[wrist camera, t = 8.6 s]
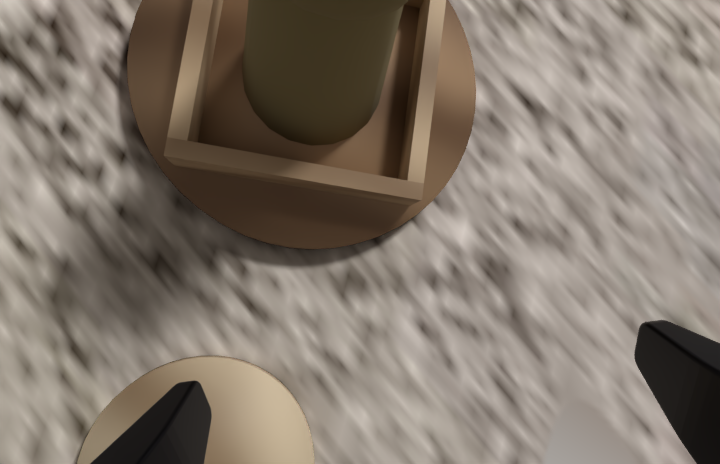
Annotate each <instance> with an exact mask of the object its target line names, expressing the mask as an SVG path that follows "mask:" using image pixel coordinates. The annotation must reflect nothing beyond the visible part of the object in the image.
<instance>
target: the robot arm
mask: <svg viewBox="0 0 720 464" xmlns="http://www.w3.org/2000/svg"><path fill="white" fill-rule="evenodd" d="M635 361H636V364H637V366H638V368H639V370H640V372H641V373H642V375H643V377H644V379H645V380H646V382H647V384H648V386H649V387H650V389H651V391H652V393H653V394H654V396H655V398H656V399H657V401H658V403H659V405H660V406H661V408H662V410H663V412H664V413H665V415H666V417H667V419H668V420H669V422H670V424H671V426H672V427H673V429H674V430H675V432H676V434H677V435H678V437H679V439H680V440H681V441H682V443H683V444H684V446H685V447H686V449H687V450H688V452H689V453H690V455H691V456H692V457H693V459H694V460H695V462H696V463H697V464H720V343H718V342H715V341H713V340H711V339H708V338H706V337H704V336H701V335H699V334H697V333H694V332H692V331H690V330H687V329H685V328H683V327H680V326H678V325H676V324H673V323H671V322H668V321H665V320H658V321H650V322H644V323H642V324H641V326H640V328H639V332H638V337H637V343H636V348H635ZM211 419H212V413H211V407H210V405H209V402H208V400H207V398H206V395H205V393H204V390H203V388H202V386H201V384H200V383H199V382H198V381H195V380H193V381H186V382H180V383H177V384H176V385H174V386H173V387H172V388H171V389H170V390H169V391H168V392H167V393H166V394H165V395H164V396H163V397H161V398H160V399H159V400H158V401H157V402H156V403H155V404H154V405H153V406H152V407H151V408H150V409H148V410H147V411H146V412H145V413H144V414H143V415H142V416H141V417H140V418H139V419H138V420H137V421H136V422H134V423H133V424H132V425H131V426H130V427H129V428H128V429H127V430H126V431H125V432H124V433H123V434H121V435H120V436H119V437H118V438H117V439H116V440H115V441H114V442H113V443H112V444H111V445H110V446H109V447H107V448H106V449H105V450H104V451H103V452H102V453H101V454H100V455H99V456H98V457H97V458H96V459H94V460H93V461H92V462H91V463H90V464H204V461H205V455H206V449H207V443H208V437H209V431H210V425H211Z"/></svg>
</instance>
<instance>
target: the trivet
mask: <svg viewBox="0 0 720 464" xmlns="http://www.w3.org/2000/svg"><path fill="white" fill-rule="evenodd" d="M247 10H248V0H142V2H141V4H140V6H139V8H138V11H137V13H136V16H135V20H134V23H133V27H132V30H131V34H130V40H129V48H128V56H127V75H128V87H129V93H130V99H131V105H132V109H133V112H134V115H135V118H136V121H137V125H138V128H139V130H140V133H141V135H142V137H143V139H144V141H145V143H146V145H147V147H148V149H149V151H150V153H151V154H152V156H153V158H154V159H155V161H156V162H157V164H158V165H159V167H160V168H161V170H162V171H163V173H164V174H165V175H166V176H167V177H168V178H169V180H170V181H171V182H172V183H173V184H174V185H175V187H176V188H177V189H178V190H179V191H180V192H181V193H182V194H183V195H184V196H185V197H187V198H188V199H189V200H190V201H191V202H192V203H193V204H194V205H196V206H197V207H198V208H199V209H200V210H202V211H203V212H205V213H206V214H208V215H209V216H211V217H212V218H214V219H215V220H217V221H218V222H220V223H221V224H223V225H224V226H226V227H228V228H230V229H232V230H234V231H236V232H238V233H240V234H242V235H245V236H247V237H250V238H253V239H256V240H259V241H262V242H265V243H268V244H273V245H278V246H283V247H287V248H299V249H329V248H337V247H342V246H348V245H353V244H357V243H360V242H363V241H366V240H369V239H372V238H375V237H378V236H381V235H383V234H385V233H387V232H389V231H391V230H393V229H395V228H397V227H399V226H401V225H402V224H404V223H405V222H407V221H408V220H410V219H411V218H413V217H414V216H416V215H417V214H418V213H419V212H420V211H421V210H423V209H424V208H425V207H426V206H427V205H428V204H429V203H431V202H432V201H433V199H434V198H435V197H436V196H437V195H438V194H439V193H440V191H441V190H442V189H443V188H444V187H445V186H446V184H447V182H448V181H449V179H450V178H451V176H452V175H453V173H454V172H455V170H456V169H457V167H458V164H459V162H460V160H461V158H462V156H463V154H464V152H465V149H466V146H467V143H468V140H469V137H470V134H471V130H472V125H473V119H474V113H475V100H476V85H475V72H474V66H473V61H472V56H471V51H470V48H469V45H468V42H467V39H466V36H465V33H464V30H463V28H462V25H461V23H460V21H459V19H458V17H457V15H456V13H455V11H454V9H453V7H452V6H451V4H450V3H449V1H448V0H409V1H408V2H407V3H405V4H404V6H403V10H402V14H401V18H400V21H399V25H398V29H397V33H396V37H395V41H394V45H393V49H392V53H391V57H390V61H389V65H388V69H387V73H386V77H385V81H384V84H383V88H382V92H381V96H380V100H379V104H378V107H377V108H376V110H375V112H374V113H373V115H372V117H371V119H370V120H369V122H368V123H367V124H366V125H365V126H364V127H363V128H362V129H360V130H359V131H358V132H357V133H356V134H355V135H353V136H352V137H350V138H347V139H345V140H342V141H340V142H337V143H335V144H328V145H314V146H310V145H306V144H302V143H298V142H294V141H290V140H288V139H286V138H284V137H283V136H281V135H279V134H278V133H276V132H274V131H273V130H271V129H269V128H268V127H267V126H266V124H265V123H264V122H263V121H262V120H261V119H260V118H259V117H258V116H257V115H256V113H255V112H254V111H253V109H252V106H251V104H250V102H249V100H248V98H247V96H246V93H245V91H244V83H243V73H242V64H243V53H244V42H245V32H246V21H247Z"/></svg>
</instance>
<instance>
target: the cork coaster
mask: <svg viewBox="0 0 720 464" xmlns="http://www.w3.org/2000/svg"><path fill="white" fill-rule="evenodd" d="M193 380H195V381H198V382H199V383H200V384H201V386H202V388H203V390H204V393H205V395H206V398H207V400H208V402H209V405H210V407H211V413H212V419H211V425H210V431H209V437H208V443H207V449H206V455H205V461H204V464H314V450H313V442H312V438H311V433H310V429H309V425H308V423H307V420H306V417H305V415H304V413H303V411H302V409H301V407H300V405H299V403H298V402H297V400H296V399H295V398H294V396H293V395H292V393H291V392H290V391H289V390H288V389H287V388H286V387H285V386H284V385H283V384H282V383H281V382H280V381H279V380H278V379H277V378H275V377H274V376H273V375H271V374H270V373H269V372H267V371H265V370H263V369H262V368H260V367H258V366H256V365H254V364H251V363H249V362H246V361H243V360H239V359H235V358H231V357H223V356H197V357H189V358H184V359H181V360H177V361H173V362H170V363H168V364H165V365H163V366H160V367H158V368H156V369H154V370H152V371H150V372H148V373H146V374H145V375H143V376H141V377H140V378H139V379H137V380H136V381H134V382H133V383H132V384H130V385H129V386H128V387H126V388H125V389H124V390H123V391H122V392H121V393H120V394H118V395H117V396H116V397H115V398H114V399H113V400H112V401H111V402H110V403H109V405H108V406H107V407H106V408H105V409H104V410H103V411H102V413H101V414H100V415H99V417H98V418H97V420H96V421H95V423H94V424H93V426H92V427H91V429H90V431H89V433H88V435H87V437H86V439H85V441H84V444H83V446H82V449H81V452H80V455H79V458H78V462H77V464H90V463H91V462H92V461H93V460H94V459H96V458H97V457H98V456H99V455H100V454H101V453H102V452H103V451H104V450H105V449H106V448H107V447H109V446H110V445H111V444H112V443H113V442H114V441H115V440H116V439H117V438H118V437H119V436H120V435H121V434H123V433H124V432H125V431H126V430H127V429H128V428H129V427H130V426H131V425H132V424H133V423H134V422H136V421H137V420H138V419H139V418H140V417H141V416H142V415H143V414H144V413H145V412H146V411H147V410H148V409H150V408H151V407H152V406H153V405H154V404H155V403H156V402H157V401H158V400H159V399H160V398H161V397H163V396H164V395H165V394H166V393H167V392H168V391H169V390H170V389H171V388H172V387H173V386H174V385H176V384H177V383H180V382H186V381H193Z"/></svg>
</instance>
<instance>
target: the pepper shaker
mask: <svg viewBox="0 0 720 464" xmlns="http://www.w3.org/2000/svg"><path fill="white" fill-rule="evenodd" d="M408 1H409V0H248V10H247V21H246V32H245V42H244V53H243V64H242V73H243V83H244V91H245V93H246V96H247V98H248V100H249V102H250V104H251V106H252V109H253V111H254V112H255V113H256V115H257V116H258V117H259V118H260V119H261V120H262V121H263V122H264V123H265V124H266V126H267V127H268V128H269V129H271V130H273V131H274V132H276V133H278V134H279V135H281V136H283V137H284V138H286V139H288V140H290V141H294V142H298V143H302V144H306V145H310V146H314V145H328V144H335V143H337V142H340V141H342V140H345V139H347V138H350V137H352V136H353V135H355V134H356V133H357V132H358V131H359V130H360V129H362V128H363V127H364V126H365V125H366V124H367V123H368V122H369V120H370V119H371V117H372V115H373V113H374V112H375V110H376V108H377V107H378V104H379V100H380V96H381V92H382V88H383V84H384V81H385V77H386V73H387V69H388V65H389V61H390V57H391V53H392V49H393V45H394V41H395V37H396V33H397V29H398V25H399V21H400V18H401V14H402V10H403V6H404V4H405V3H407V2H408Z"/></svg>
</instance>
